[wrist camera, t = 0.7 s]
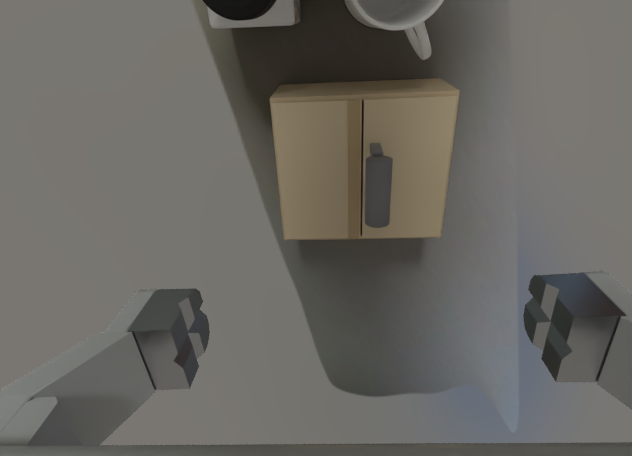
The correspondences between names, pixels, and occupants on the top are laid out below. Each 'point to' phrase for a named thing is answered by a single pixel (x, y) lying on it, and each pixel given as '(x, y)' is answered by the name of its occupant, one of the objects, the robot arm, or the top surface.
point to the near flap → (405, 165)
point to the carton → (331, 152)
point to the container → (252, 13)
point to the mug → (398, 18)
